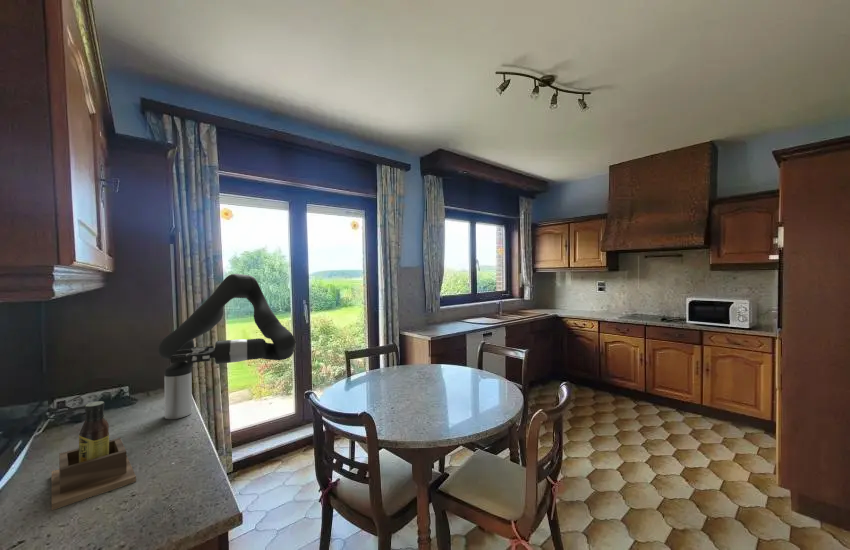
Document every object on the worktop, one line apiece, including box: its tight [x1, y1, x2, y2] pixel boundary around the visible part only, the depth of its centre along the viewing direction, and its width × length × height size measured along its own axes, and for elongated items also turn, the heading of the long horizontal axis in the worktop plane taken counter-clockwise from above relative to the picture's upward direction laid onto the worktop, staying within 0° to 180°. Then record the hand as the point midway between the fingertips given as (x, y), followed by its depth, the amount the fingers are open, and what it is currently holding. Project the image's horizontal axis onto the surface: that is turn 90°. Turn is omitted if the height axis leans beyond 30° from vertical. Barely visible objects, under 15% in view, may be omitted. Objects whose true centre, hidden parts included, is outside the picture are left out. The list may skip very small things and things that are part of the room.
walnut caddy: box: [51, 437, 137, 511], centre depth 98 cm, size 22×16×8 cm
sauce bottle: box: [78, 400, 110, 463], centre depth 99 cm, size 7×6×20 cm
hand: (173, 356), depth 110 cm, fingers open, 8 cm apart
